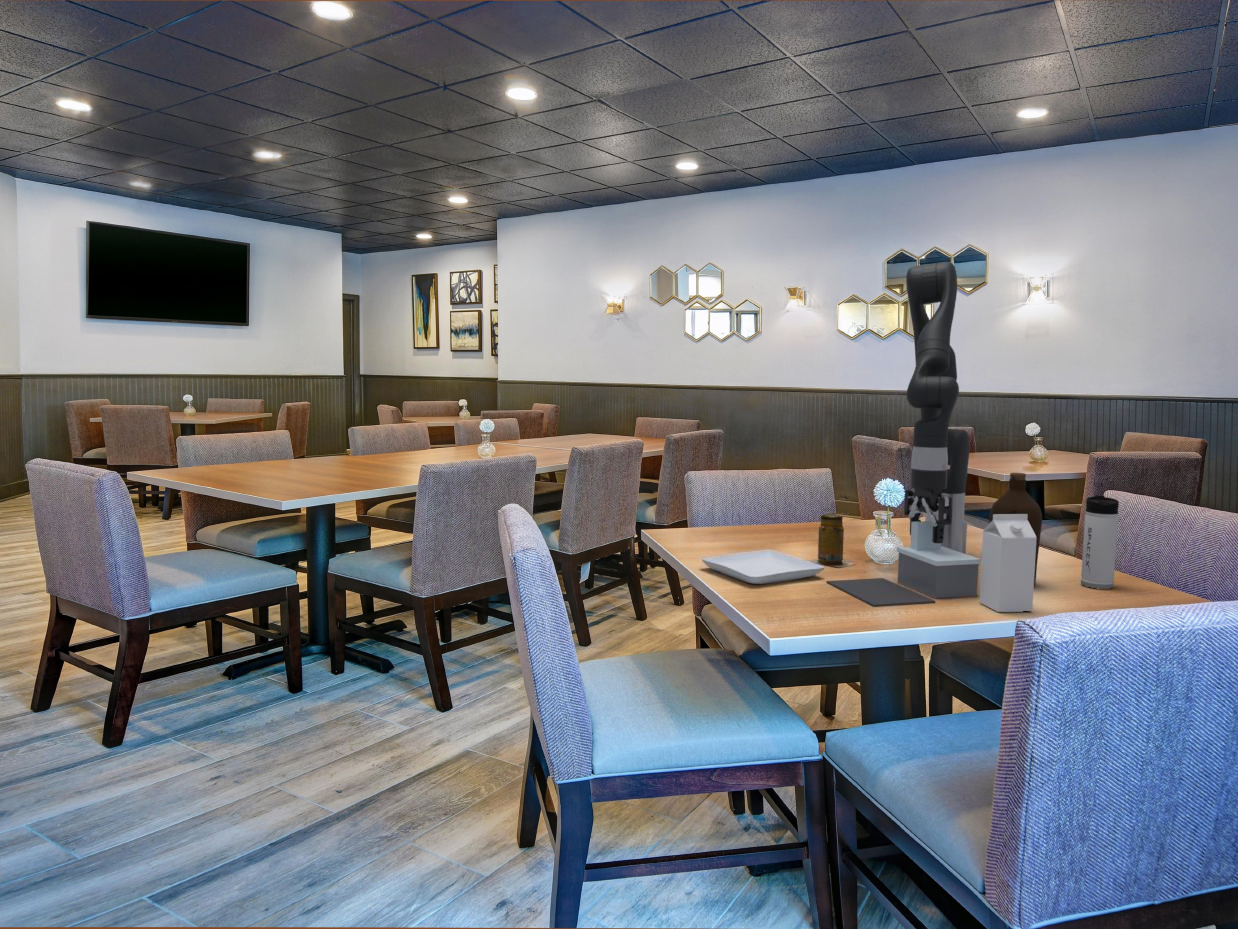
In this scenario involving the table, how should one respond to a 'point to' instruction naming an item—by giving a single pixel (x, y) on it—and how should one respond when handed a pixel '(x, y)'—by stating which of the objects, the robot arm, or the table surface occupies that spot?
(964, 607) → the table surface
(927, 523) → the lid
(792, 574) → the salad plate
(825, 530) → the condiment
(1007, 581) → the milk carton
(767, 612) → the table surface
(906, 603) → the mat
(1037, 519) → the olive oil
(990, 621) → the table surface
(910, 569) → the tub
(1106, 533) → the travel mug
